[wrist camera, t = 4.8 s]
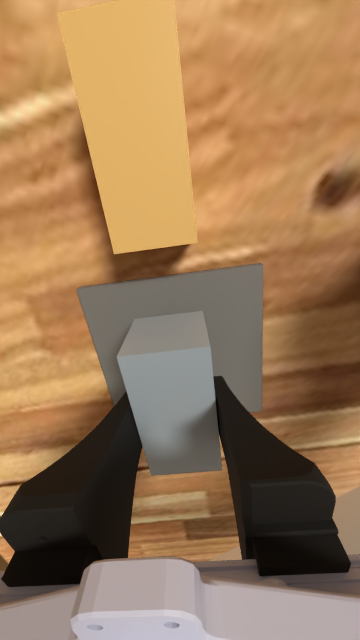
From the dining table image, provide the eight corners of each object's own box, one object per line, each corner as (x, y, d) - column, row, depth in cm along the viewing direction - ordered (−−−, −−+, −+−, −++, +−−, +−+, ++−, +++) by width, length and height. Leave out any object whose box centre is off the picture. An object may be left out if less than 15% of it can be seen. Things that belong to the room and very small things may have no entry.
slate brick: (202, 310, 13) (210, 346, 9) (213, 413, 16) (222, 470, 13) (134, 318, 13) (116, 356, 10) (158, 418, 17) (151, 475, 13)
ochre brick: (176, 64, 11) (172, -11, 8) (194, 237, 14) (197, 243, 11) (97, 79, 11) (56, 13, 8) (131, 245, 15) (114, 254, 11)
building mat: (260, 263, 15) (263, 264, 14) (259, 405, 19) (261, 411, 19) (80, 286, 16) (76, 289, 15) (121, 418, 20) (119, 423, 20)
